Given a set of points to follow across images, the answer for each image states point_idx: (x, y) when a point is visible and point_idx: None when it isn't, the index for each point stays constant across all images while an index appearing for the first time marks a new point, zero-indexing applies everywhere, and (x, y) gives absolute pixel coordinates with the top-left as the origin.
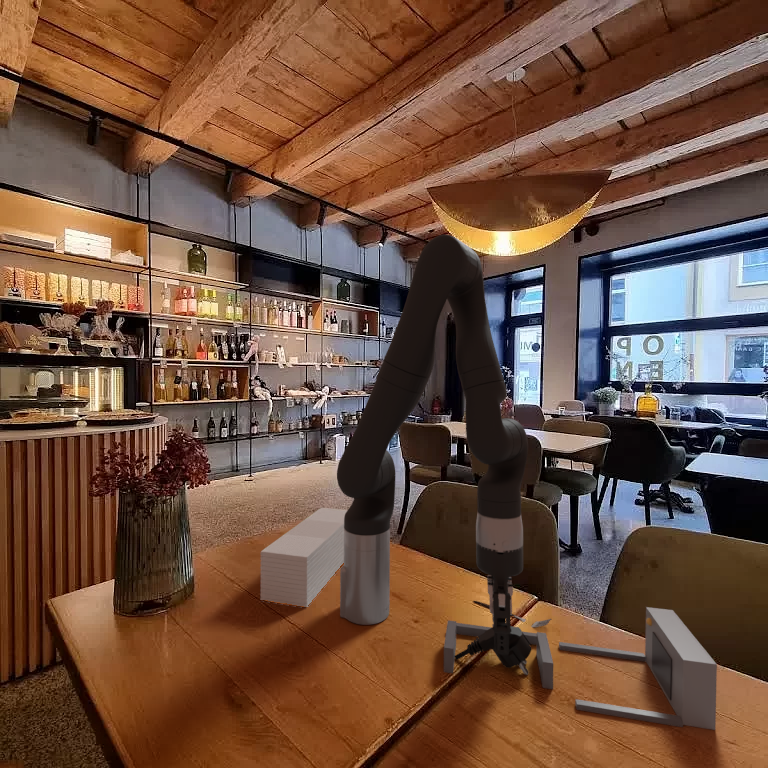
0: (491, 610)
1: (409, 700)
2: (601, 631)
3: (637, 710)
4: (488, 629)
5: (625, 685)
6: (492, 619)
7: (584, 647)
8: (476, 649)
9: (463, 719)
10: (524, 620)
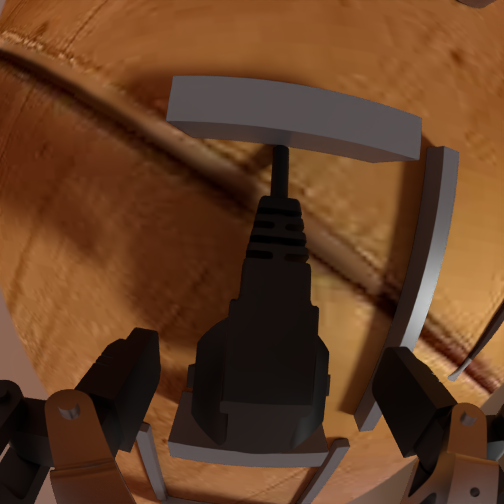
0: (54, 480)
1: (83, 41)
2: (379, 478)
3: (156, 480)
4: (419, 297)
5: (230, 486)
6: (400, 348)
7: (325, 473)
8: (250, 239)
9: (37, 179)
10: (452, 378)
